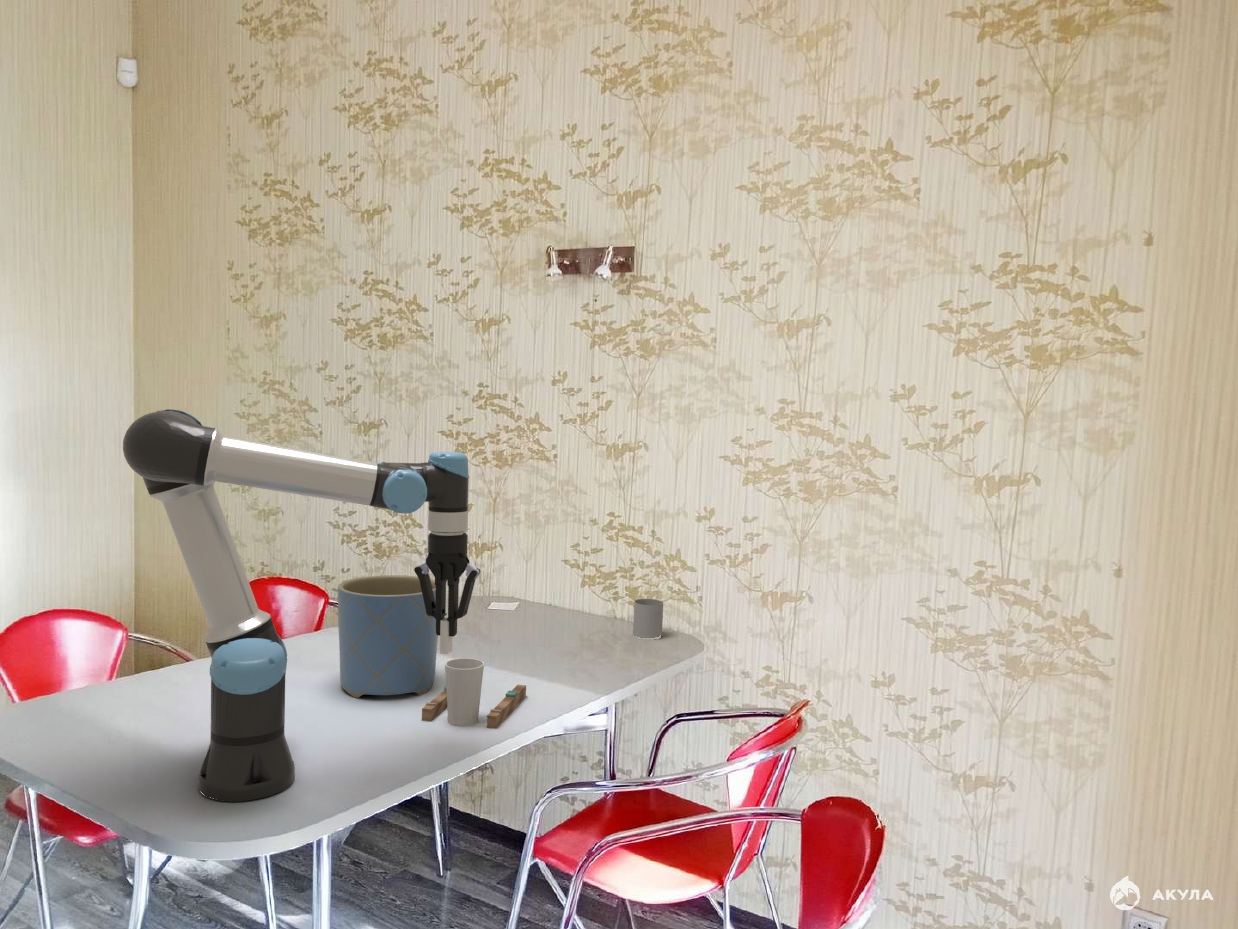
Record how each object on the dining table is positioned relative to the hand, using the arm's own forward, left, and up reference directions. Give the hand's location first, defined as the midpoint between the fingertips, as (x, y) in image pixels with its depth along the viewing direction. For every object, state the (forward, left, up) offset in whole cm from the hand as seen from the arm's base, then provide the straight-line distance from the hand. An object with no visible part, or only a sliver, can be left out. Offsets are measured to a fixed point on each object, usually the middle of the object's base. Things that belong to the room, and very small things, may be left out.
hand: (446, 652), depth 179 cm
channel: (+18, 0, -17) cm, 25 cm away
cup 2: (+89, -26, -17) cm, 95 cm away
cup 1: (+10, 0, -17) cm, 20 cm away
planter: (+26, +24, -17) cm, 39 cm away
